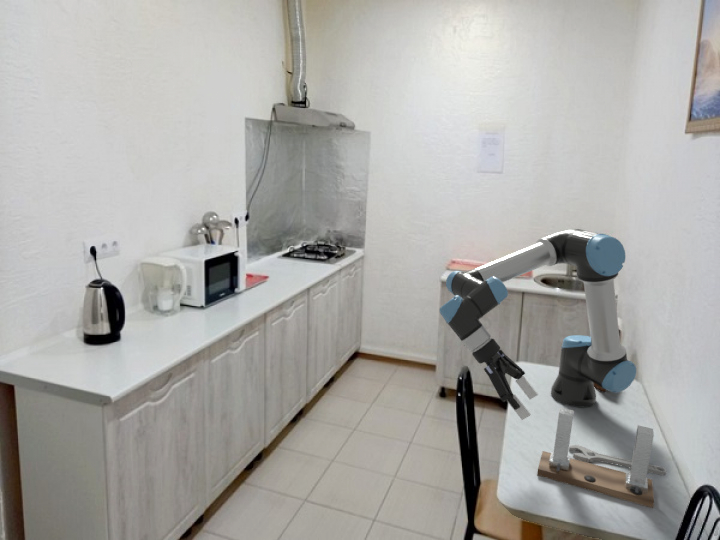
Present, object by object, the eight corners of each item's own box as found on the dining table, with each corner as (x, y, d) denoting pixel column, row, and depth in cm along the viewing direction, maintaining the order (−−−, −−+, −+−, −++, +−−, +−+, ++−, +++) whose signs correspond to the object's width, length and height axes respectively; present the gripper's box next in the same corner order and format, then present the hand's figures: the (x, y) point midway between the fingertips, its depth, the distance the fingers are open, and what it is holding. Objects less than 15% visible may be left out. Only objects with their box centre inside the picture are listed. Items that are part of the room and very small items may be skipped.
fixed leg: (625, 477, 141) (634, 423, 138) (646, 483, 139) (656, 428, 136) (625, 491, 136) (635, 435, 132) (647, 497, 133) (657, 440, 130)
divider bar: (541, 457, 153) (542, 450, 153) (650, 486, 141) (652, 479, 141) (537, 475, 144) (538, 468, 144) (652, 508, 133) (654, 500, 132)
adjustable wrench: (664, 472, 149) (665, 466, 149) (666, 485, 143) (667, 479, 143) (570, 448, 159) (570, 442, 159) (568, 458, 153) (569, 453, 153)
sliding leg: (550, 456, 149) (557, 405, 146) (569, 461, 147) (577, 410, 144) (548, 468, 143) (555, 416, 140) (567, 474, 141) (575, 421, 138)
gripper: (481, 338, 162) (526, 395, 159) (459, 367, 140) (511, 433, 137) (500, 325, 158) (547, 383, 155) (481, 352, 136) (534, 419, 134)
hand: (530, 406), depth 146 cm, fingers open, 13 cm apart
